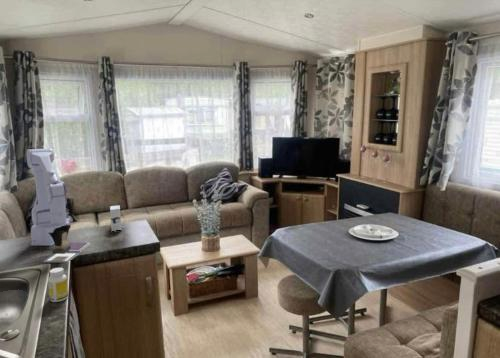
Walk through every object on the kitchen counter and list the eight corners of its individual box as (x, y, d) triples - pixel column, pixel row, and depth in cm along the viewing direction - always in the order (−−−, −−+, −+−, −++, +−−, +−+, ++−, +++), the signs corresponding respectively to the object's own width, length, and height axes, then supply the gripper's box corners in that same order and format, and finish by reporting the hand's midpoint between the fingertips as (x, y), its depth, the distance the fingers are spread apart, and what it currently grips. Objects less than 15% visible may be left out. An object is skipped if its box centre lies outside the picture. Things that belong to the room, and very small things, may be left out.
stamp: (52, 253, 151) (50, 234, 150) (58, 249, 156) (57, 231, 155) (64, 253, 151) (63, 234, 150) (70, 249, 156) (69, 231, 155)
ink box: (111, 227, 196) (109, 205, 194) (121, 226, 198) (119, 205, 196) (111, 232, 188) (109, 209, 186) (121, 231, 190) (120, 208, 188)
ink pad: (57, 252, 160) (56, 249, 160) (68, 244, 170) (68, 241, 169) (80, 252, 160) (79, 249, 159) (90, 244, 169) (90, 241, 169)
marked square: (43, 262, 149) (43, 261, 149) (56, 253, 159) (56, 252, 159) (67, 262, 149) (67, 261, 149) (79, 253, 159) (79, 252, 159)
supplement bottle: (71, 294, 123) (68, 266, 121) (63, 302, 117) (61, 273, 116) (54, 294, 123) (52, 266, 121) (46, 302, 117) (43, 273, 116)
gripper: (58, 217, 144) (61, 250, 146) (76, 208, 158) (78, 238, 160) (40, 217, 144) (43, 250, 146) (60, 207, 158) (62, 238, 160)
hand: (60, 244), depth 153 cm, fingers closed on stamp, 3 cm apart
